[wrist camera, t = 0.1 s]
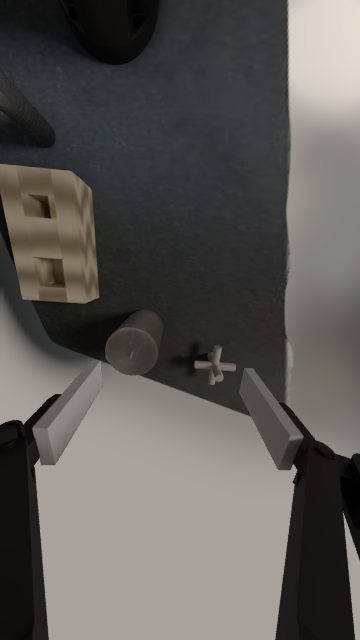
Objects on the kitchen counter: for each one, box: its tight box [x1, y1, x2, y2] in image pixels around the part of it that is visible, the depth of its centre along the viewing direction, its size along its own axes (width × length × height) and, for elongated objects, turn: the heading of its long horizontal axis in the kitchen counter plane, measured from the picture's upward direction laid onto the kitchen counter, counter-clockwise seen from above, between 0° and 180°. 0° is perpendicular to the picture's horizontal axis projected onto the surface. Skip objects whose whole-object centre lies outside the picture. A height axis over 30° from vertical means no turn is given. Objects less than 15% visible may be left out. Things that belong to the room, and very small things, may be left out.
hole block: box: [0, 164, 99, 303], centre depth 34 cm, size 22×12×7 cm, turn 176°
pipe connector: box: [194, 345, 236, 385], centre depth 42 cm, size 10×10×10 cm
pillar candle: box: [105, 310, 164, 375], centre depth 37 cm, size 10×10×15 cm
